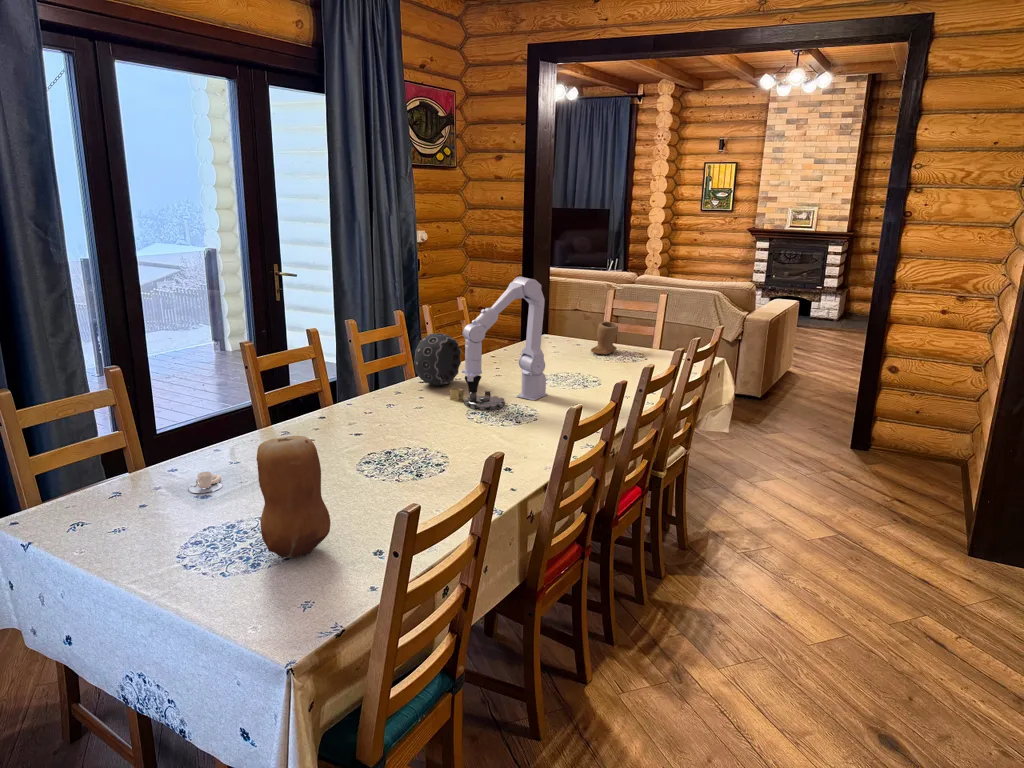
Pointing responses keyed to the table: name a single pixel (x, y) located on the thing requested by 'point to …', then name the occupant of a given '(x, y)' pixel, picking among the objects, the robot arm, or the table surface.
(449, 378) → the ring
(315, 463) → the butternut squash
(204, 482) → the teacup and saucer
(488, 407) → the sprocket
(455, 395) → the link block
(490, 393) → the block
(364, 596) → the table surface
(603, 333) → the stone cup
